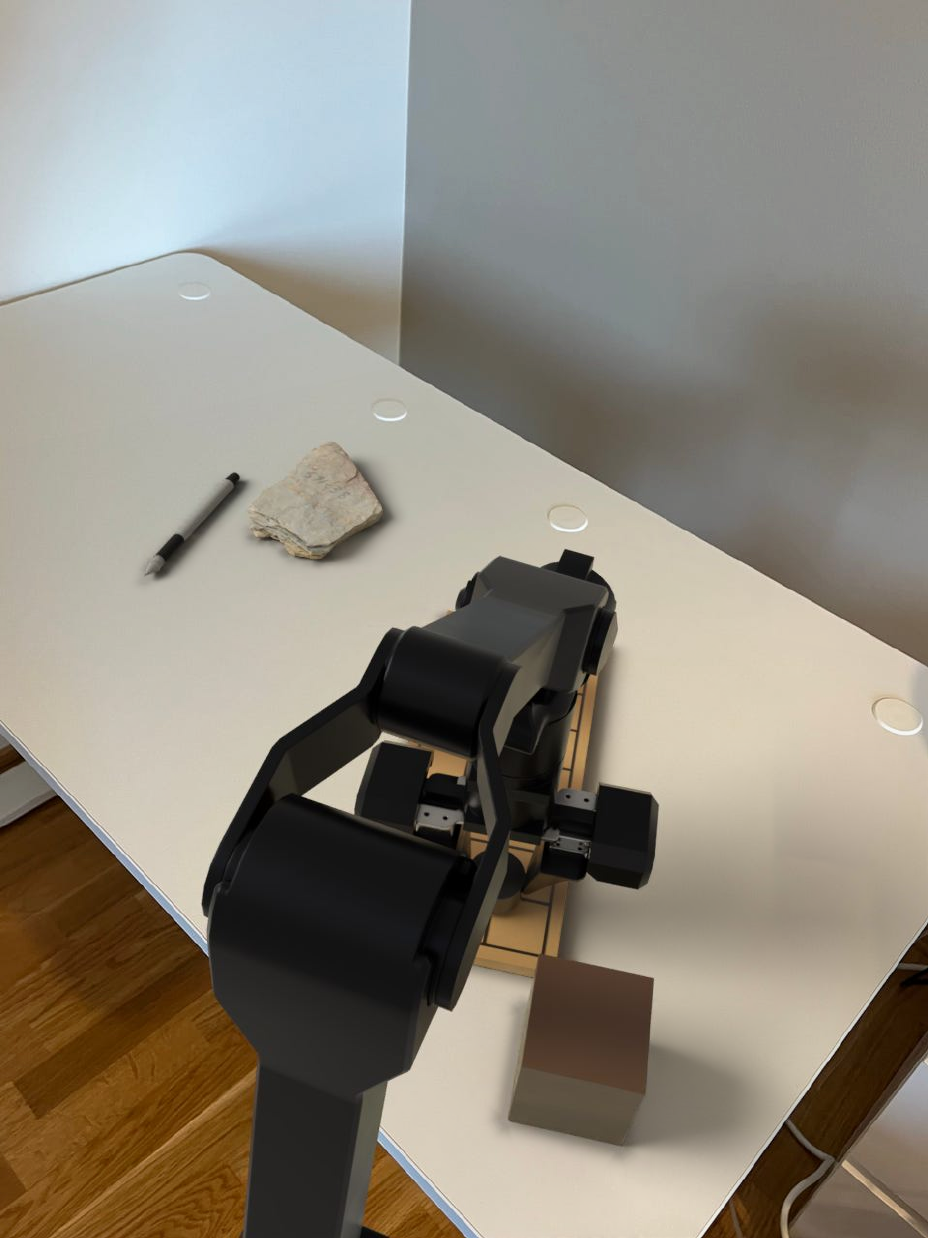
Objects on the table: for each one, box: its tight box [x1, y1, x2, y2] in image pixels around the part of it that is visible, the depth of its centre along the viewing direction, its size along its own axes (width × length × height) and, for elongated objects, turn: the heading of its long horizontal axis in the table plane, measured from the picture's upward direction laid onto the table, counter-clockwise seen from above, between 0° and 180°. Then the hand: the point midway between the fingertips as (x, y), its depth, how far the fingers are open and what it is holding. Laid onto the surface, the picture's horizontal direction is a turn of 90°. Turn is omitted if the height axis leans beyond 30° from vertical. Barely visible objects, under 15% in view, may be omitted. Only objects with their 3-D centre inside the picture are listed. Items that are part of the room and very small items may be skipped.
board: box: [406, 609, 600, 978], centre depth 83 cm, size 32×14×1 cm, turn 169°
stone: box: [246, 441, 383, 560], centre depth 104 cm, size 15×11×3 cm
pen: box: [144, 471, 241, 576], centre depth 102 cm, size 1×16×1 cm, turn 159°
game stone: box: [473, 851, 526, 915], centre depth 74 cm, size 4×4×2 cm
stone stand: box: [507, 954, 655, 1147], centre depth 64 cm, size 7×7×8 cm
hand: (495, 882), depth 74 cm, fingers closed on game stone, 4 cm apart
